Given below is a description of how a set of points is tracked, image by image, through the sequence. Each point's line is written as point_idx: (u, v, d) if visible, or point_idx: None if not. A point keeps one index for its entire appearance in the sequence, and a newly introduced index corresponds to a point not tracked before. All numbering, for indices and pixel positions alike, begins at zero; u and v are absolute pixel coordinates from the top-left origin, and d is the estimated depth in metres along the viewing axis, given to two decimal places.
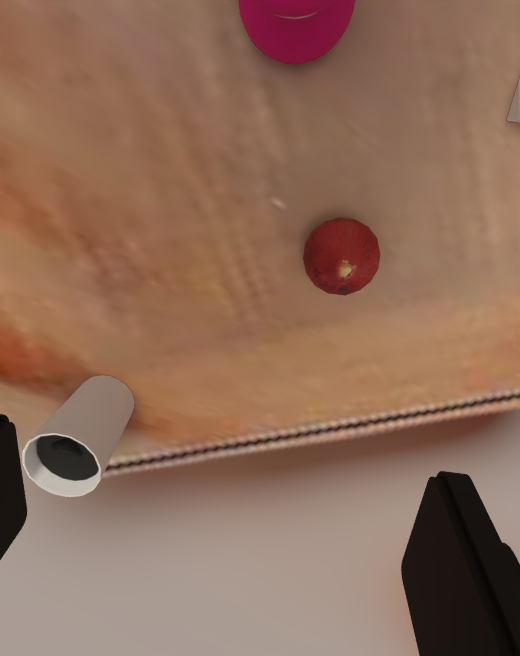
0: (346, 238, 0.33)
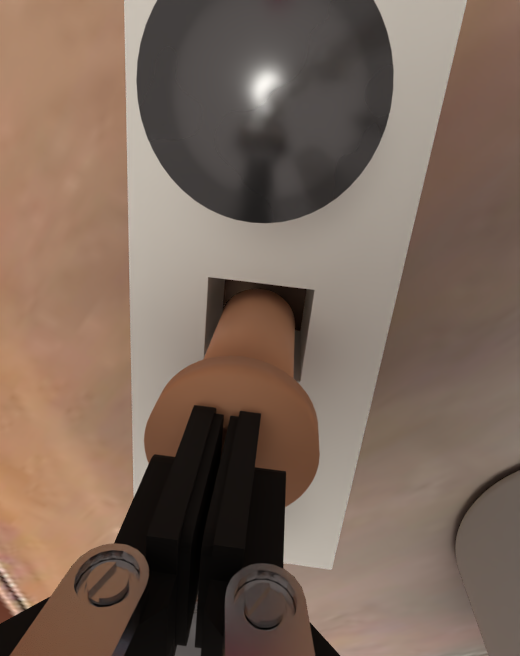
0: None
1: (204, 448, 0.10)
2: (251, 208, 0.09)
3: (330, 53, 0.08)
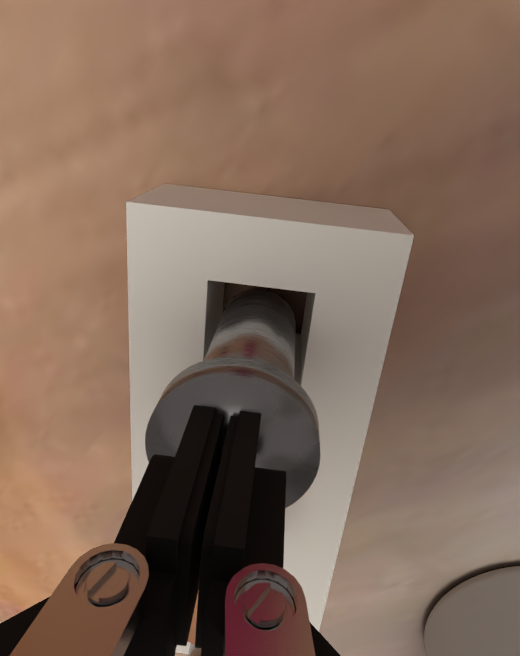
0: None
1: (204, 448, 0.10)
2: None
3: (276, 435, 0.11)
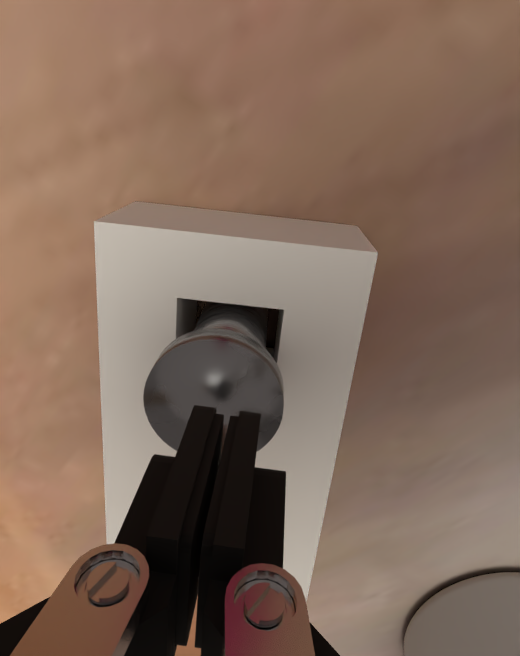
0: None
1: (204, 448, 0.10)
2: None
3: (248, 389, 0.14)
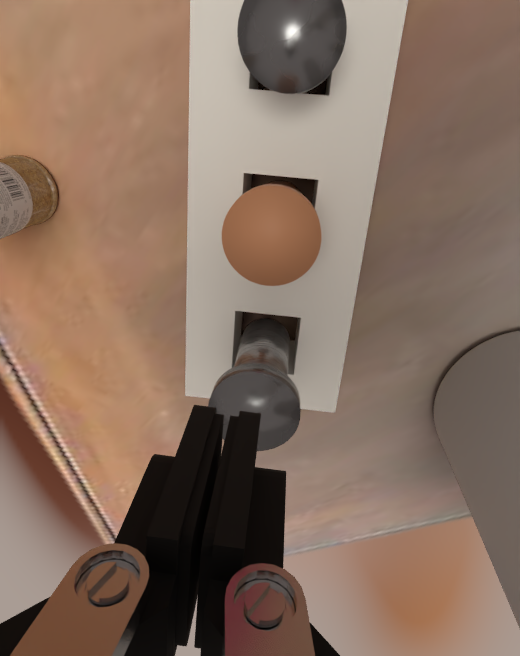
0: None
1: (204, 448, 0.10)
2: (286, 86, 0.20)
3: (320, 13, 0.18)
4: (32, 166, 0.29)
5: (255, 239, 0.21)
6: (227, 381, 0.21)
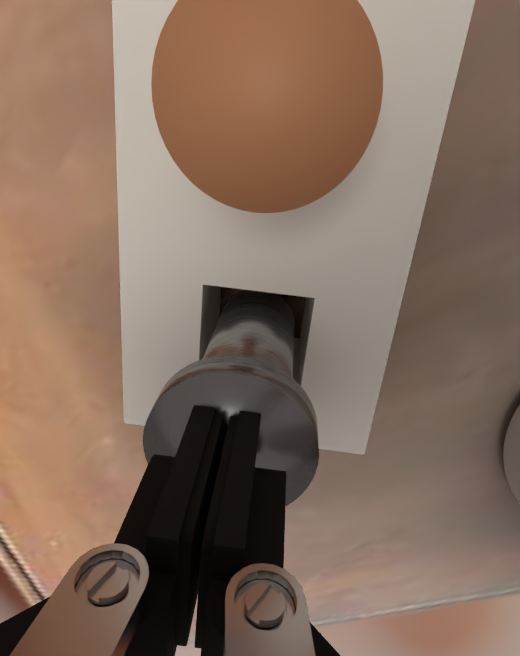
0: None
1: (204, 448, 0.10)
2: None
3: None
4: None
5: (229, 98, 0.09)
6: (178, 390, 0.11)
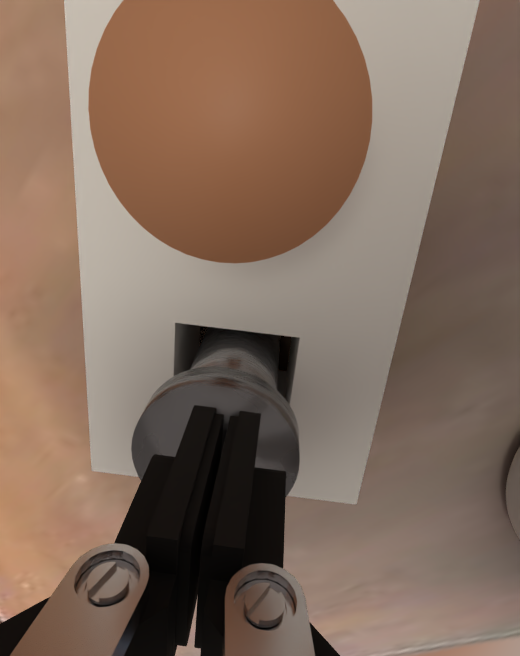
0: None
1: (204, 448, 0.10)
2: None
3: None
4: None
5: (184, 128, 0.07)
6: (164, 400, 0.11)
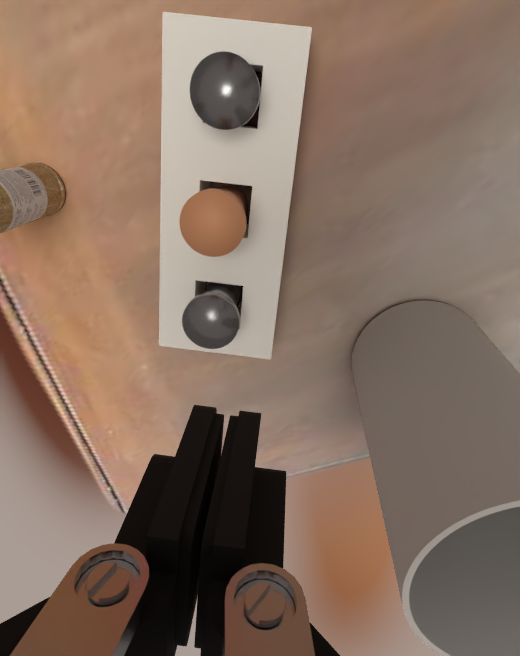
0: None
1: (204, 448, 0.10)
2: (222, 125, 0.30)
3: (241, 80, 0.29)
4: (47, 171, 0.40)
5: (201, 225, 0.31)
6: (193, 301, 0.35)
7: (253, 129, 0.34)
